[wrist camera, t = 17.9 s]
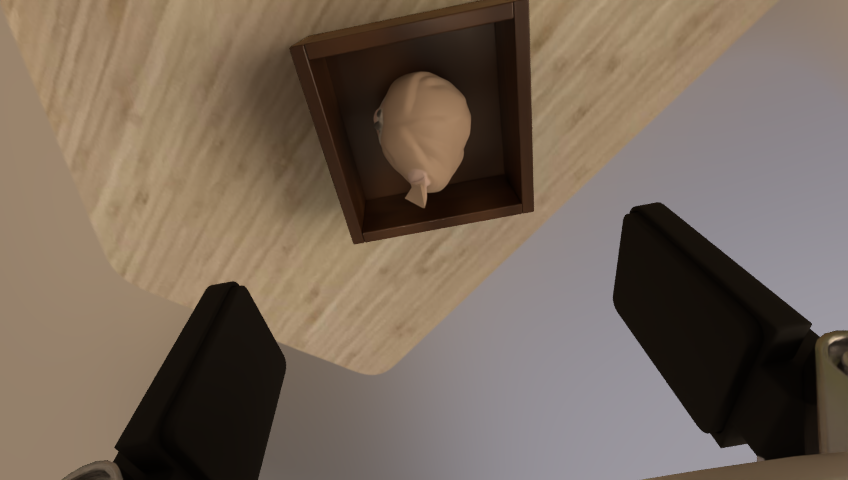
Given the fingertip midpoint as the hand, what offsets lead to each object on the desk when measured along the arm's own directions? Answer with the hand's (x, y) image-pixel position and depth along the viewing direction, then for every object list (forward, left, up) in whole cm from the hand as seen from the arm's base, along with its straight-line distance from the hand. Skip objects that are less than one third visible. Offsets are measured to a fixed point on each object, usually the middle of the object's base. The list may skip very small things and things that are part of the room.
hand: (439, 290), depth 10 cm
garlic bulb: (+1, -1, -21) cm, 21 cm away
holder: (+1, -2, -21) cm, 21 cm away
